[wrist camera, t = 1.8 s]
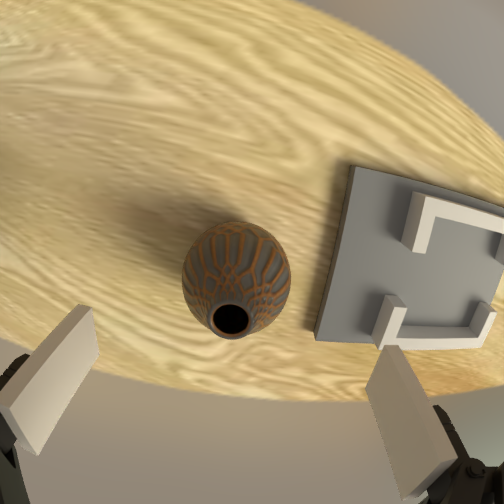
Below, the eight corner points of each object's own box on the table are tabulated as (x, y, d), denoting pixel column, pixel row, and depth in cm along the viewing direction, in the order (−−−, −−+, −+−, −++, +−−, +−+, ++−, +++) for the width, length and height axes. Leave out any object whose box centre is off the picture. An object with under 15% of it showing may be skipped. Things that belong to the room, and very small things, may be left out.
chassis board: (313, 332, 26) (319, 355, 23) (350, 165, 21) (365, 169, 18) (467, 336, 26) (482, 353, 23) (511, 210, 21) (533, 219, 18)
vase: (183, 221, 22) (144, 269, 14) (277, 203, 22) (290, 243, 14) (206, 303, 25) (185, 377, 17) (291, 289, 24) (307, 362, 16)
